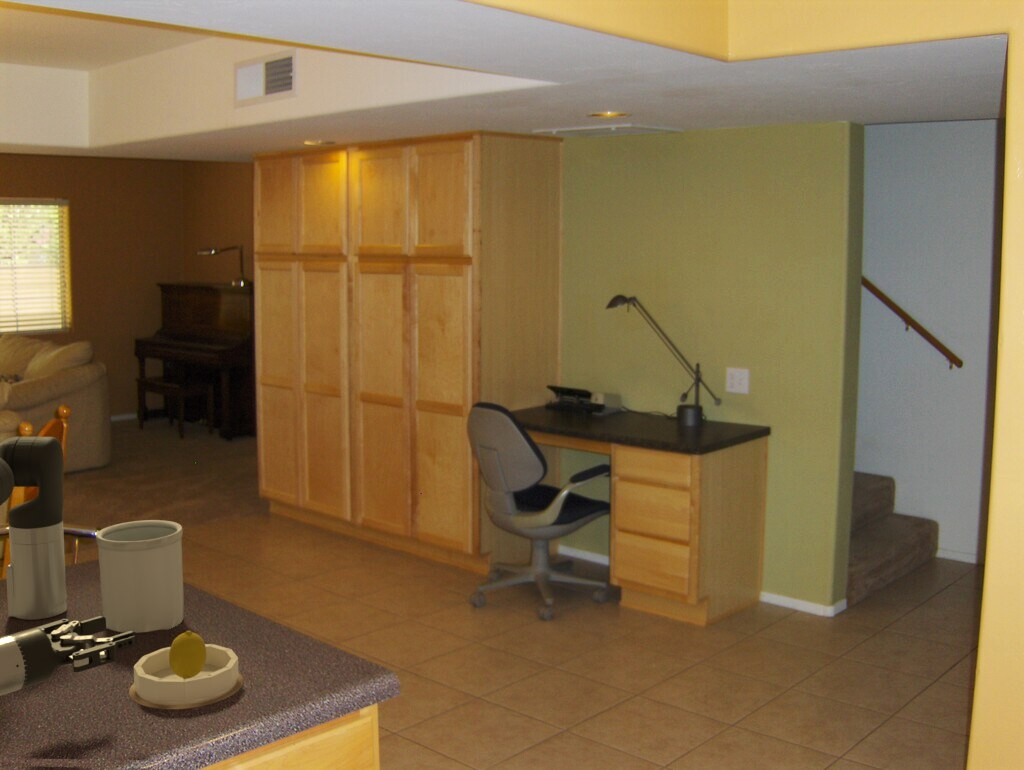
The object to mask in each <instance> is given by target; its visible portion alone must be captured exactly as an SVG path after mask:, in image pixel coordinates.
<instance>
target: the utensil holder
mask: <svg viewBox="0 0 1024 770" xmlns="http://www.w3.org/2000/svg"><path fill="white" fill-rule="evenodd" d="M183 533H184V532H183V526H182V525H181V524H180V523H179V522H178V523H177V522H175V521H171V520H170V521H169V520H162V519H161V520H160V519H149V520H148V519H145V520H135V521H127V522H122V523H118V524H113V525H110V526H107V527H104V528H102V529H101V530H99V531H98V532H96V535H95V541H96V544H97V546H98V547H97V548H98V563H99V565H98V566H99V578H100V593H101V605H102V606H101V607H102V614H103V615H102V616H103V617H105V618H106V629H105V630H110V631H113V632H118V633H125V632H128V631H134V632H136V633H137V634H138V633H148V632H156V631H159V630H169V629H170V630H171V628H172V629H174V628H175V626H176V627H178V626H179V625H180V624H181V623H182V622H183V620H184V578H183V577H184V576H183V575H184V574H183V571H184V570H183V545H182V544H183V543H182V537H183ZM178 624H179V625H178ZM173 627H174V628H173Z"/></svg>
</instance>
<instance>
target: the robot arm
mask: <svg viewBox="0 0 1024 770" xmlns="http://www.w3.org/2000/svg"><path fill="white" fill-rule="evenodd" d="M64 463H65V460H64V450H63V446H62V443H61V442H60V440H59V439H58V438H57V437H54V436H12V437H9V438H6V439H4V440H2V441H1V442H0V506H2V505H3V504H4V503H6V502H7V501H8V499H9V498H10V497H11V495H12V493H13V491H14V488H24V487H25V488H33V487H34V488H38V495H37V496H36V497H34V498H33V499H31V500H28V501H25V502H23V503H20V504H17V505H14V506H13V507H11V508H10V509H9V511H8V513H7V521H8V537H9V555H10V564H7V566H6V567H5V572H6V573H5V574H6V576H5V577H6V591H7V593H6V595H7V613H8V614H7V615H8V617H14V618H16V619H18V620H19V619H20V620H28V621H29V620H32V621H33V620H41V619H42V620H43V619H48V618H52V617H56V616H59V615H61V614H63V613H65V612H66V611H67V608H68V606H67V605H68V603H67V601H68V600H67V598H68V597H67V581H66V580H67V579H66V562H65V561H66V559H65V558H66V556H65V539H64V538H65V537H64V536H65V535H64V513H63V512H64V510H63V509H64V471H65V469H64V468H65V467H64V465H65V464H64ZM69 620H70V619H68V618H62V619H59V620H56V621H53V622H49V623H46V624H43V625H40V626H36V627H32V628H29V629H25V630H21V631H18V632H14V633H11V634H8V635H3V636H1V637H0V697H1V696H5V695H8V694H10V693H13V692H17V691H19V690H22V689H26V688H29V687H33V686H35V685H38V684H41V683H42V684H43V683H44V682H48V681H49V680H50V679H51V678H52V677H53V675H54V672H55V671H56V669H57V668H58V667H59V666H60V667H61V666H72V669H73V671H72V672H74V673H80V672H81V673H82V672H84V671H87V670H90V669H94V668H96V667H101V666H104V665H107V664H110V663H113V662H116V661H117V652H118V653H119V652H121V651H125V650H127V649H130V648H134V647H136V646H137V644H138V633H136V632H134V631H128V632H121V633H120V634H119V633H118V634H115V635H113V636H109V637H99V638H97V637H96V636H95V634H98V633H101V632H105V630H107V629H106V618H105V617H103V615H98V616H95V617H92V618H88V619H84V620H81V621H80V620H73V621H69ZM87 644H88V648H87Z"/></svg>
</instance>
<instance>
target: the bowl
mask: <svg viewBox="0 0 1024 770" xmlns="http://www.w3.org/2000/svg"><path fill="white" fill-rule="evenodd" d="M205 647H206V662H205V665H204V667H203V669H202V670H201V672H200V673H199V674H197V675H196V676H194V677H192V678H188V679H183V678H182V677H179V676H177V675H176V674H175V673H174V672H173V671H172V669H171V667H170V663H169V652H170V648H171V646H168V647H163V648H160V649H158V650H155V651H152V652H149V653H147V654H144V655H143V656H141V657H140V659H138V661H137V662H136V663H135V664H134V666H133V684H134V686H135V687H136V693H137V696H138V697H139V698H140V699H142V700H143V701H145V702H148V703H151V704H156V705H163V706H186V705H193V704H199V703H204V702H208V701H211V700H214V699H217V698H219V697H221V696H223V695H225V694H227V693H229V692H230V691H231V690H232V689H233V688H234V687H235V686H236V684H237V678H238V676H239V673H240V672H239V657H238V656H237V654H236V653H235V652H234V651H233V649H232V648H228V647H224V646H222V645H218V644H214V643H212V644H211V643H205ZM238 672H239V673H238Z"/></svg>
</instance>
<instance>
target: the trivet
mask: <svg viewBox="0 0 1024 770" xmlns="http://www.w3.org/2000/svg"><path fill="white" fill-rule="evenodd" d="M238 673H239V676H238V678H237V684H236V686H235V687H234V688H233V689H232V690H231V691H230V692H229V693H227V694H225V695H223V696H221V697H219V698H217V699H214V700H211V701H208V702H204V703H199V704H193V705H186V706H163V705H156V704H151V703H148V702H145V701H143V700H142V699H140V698H139V697H138V696H137V693H136V687H135V686H134V683H133V684H132V685H131V686H130V688H129V692H128V694H129V697H130V698H131V700H132V701H133V702H135V703H137V704H139V705H141V706H143V707H147V708H152V709H161V710H184V709H193V708H199V707H203V706H209V705H212V704H215V703H218V702H221V701H223V700H225V699H228V698H231V696H233V695H235V694H236V693H238V692H239V691H240V689H241V688H242V687H243V684H244V677H243V676H242V674H241V673H240V672H239V671H238Z"/></svg>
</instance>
